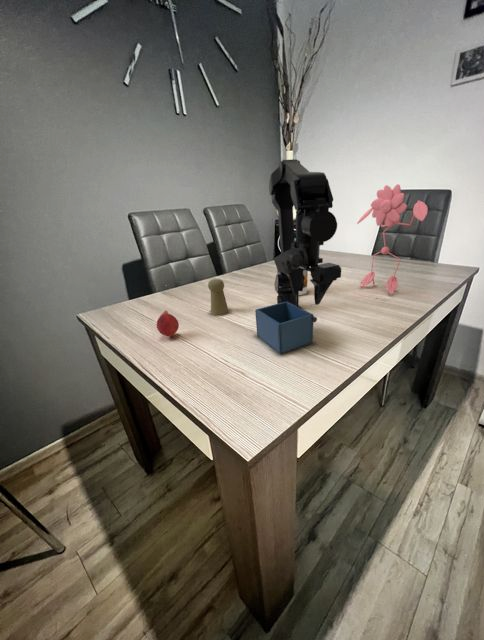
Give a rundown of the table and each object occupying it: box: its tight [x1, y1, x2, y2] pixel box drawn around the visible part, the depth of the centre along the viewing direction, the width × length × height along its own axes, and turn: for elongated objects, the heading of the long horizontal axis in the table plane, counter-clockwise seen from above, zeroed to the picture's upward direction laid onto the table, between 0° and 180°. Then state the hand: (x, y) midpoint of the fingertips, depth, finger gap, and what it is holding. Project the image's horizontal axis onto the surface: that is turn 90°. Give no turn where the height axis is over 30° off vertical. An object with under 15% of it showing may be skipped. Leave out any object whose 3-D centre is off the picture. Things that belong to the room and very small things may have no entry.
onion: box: [156, 310, 180, 338], centre depth 77 cm, size 6×6×8 cm
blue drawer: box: [254, 301, 318, 355], centre depth 72 cm, size 13×12×8 cm
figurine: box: [354, 183, 428, 300], centre depth 95 cm, size 15×26×35 cm, turn 34°
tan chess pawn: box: [207, 278, 229, 316], centre depth 91 cm, size 6×6×11 cm
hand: (306, 299), depth 72 cm, fingers open, 9 cm apart
